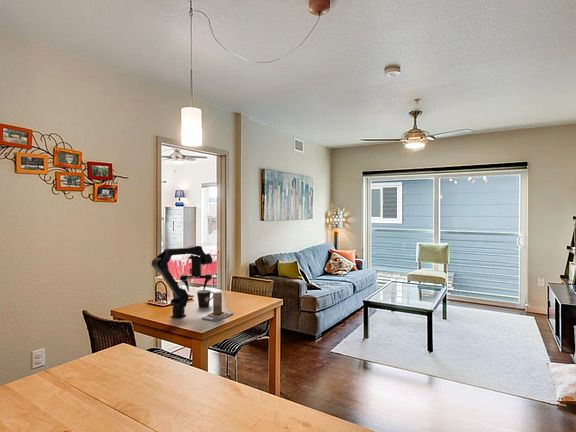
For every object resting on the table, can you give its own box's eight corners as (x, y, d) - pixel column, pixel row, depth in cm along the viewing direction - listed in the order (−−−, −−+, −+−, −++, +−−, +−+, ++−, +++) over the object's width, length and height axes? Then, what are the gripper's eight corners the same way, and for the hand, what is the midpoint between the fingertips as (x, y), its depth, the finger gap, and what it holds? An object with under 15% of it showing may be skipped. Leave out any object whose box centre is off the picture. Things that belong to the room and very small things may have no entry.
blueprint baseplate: (216, 321, 195) (216, 318, 195) (201, 319, 200) (201, 315, 200) (233, 314, 210) (233, 311, 209) (218, 312, 214) (218, 308, 214)
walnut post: (218, 316, 201) (218, 294, 201) (211, 315, 204) (211, 293, 203) (223, 314, 206) (223, 292, 206) (216, 313, 208) (216, 291, 208)
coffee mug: (198, 309, 221) (198, 293, 221) (196, 305, 229) (196, 290, 229) (216, 307, 226) (216, 291, 226) (214, 304, 234) (214, 289, 234)
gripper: (211, 263, 224) (211, 287, 224) (181, 264, 220) (181, 288, 220) (211, 266, 213) (211, 291, 213) (179, 267, 209) (180, 292, 210)
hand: (196, 291), depth 214 cm, fingers open, 9 cm apart
